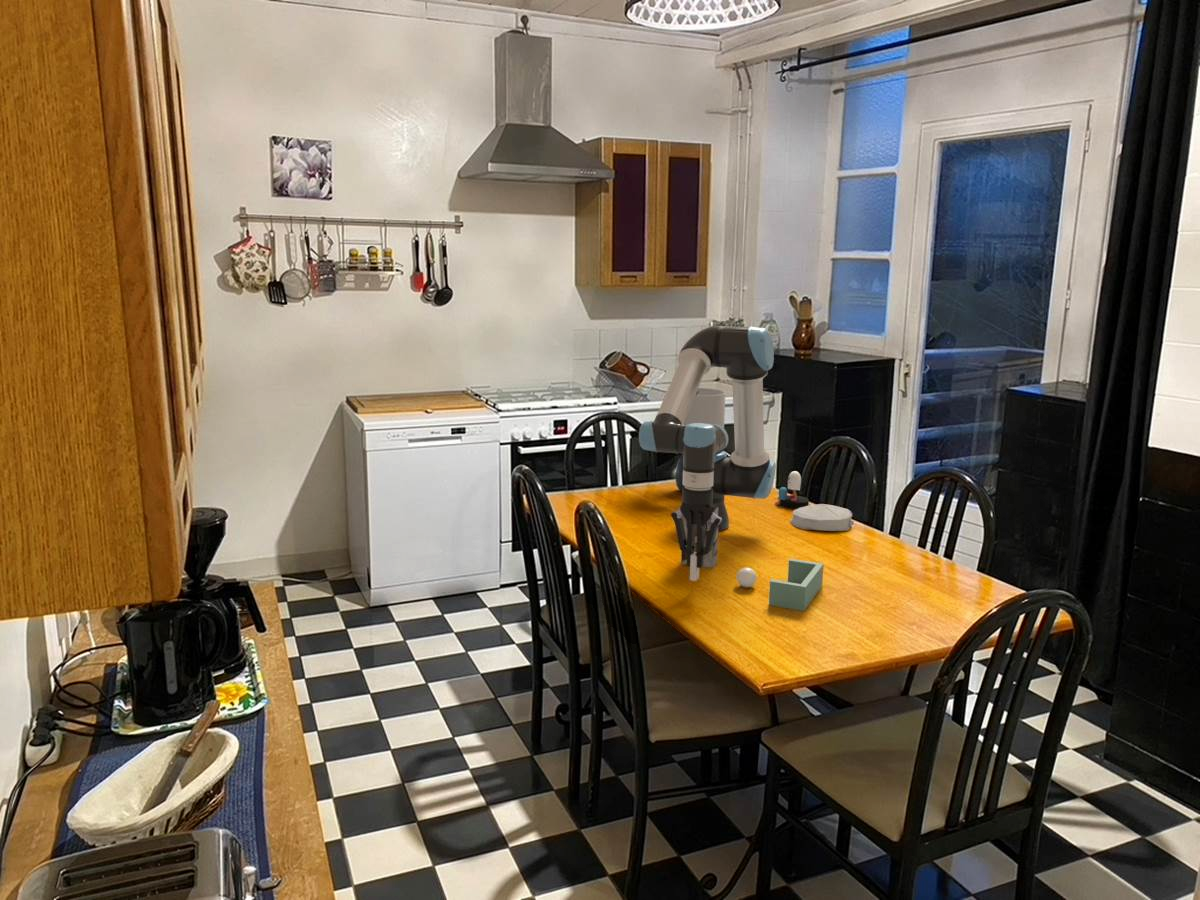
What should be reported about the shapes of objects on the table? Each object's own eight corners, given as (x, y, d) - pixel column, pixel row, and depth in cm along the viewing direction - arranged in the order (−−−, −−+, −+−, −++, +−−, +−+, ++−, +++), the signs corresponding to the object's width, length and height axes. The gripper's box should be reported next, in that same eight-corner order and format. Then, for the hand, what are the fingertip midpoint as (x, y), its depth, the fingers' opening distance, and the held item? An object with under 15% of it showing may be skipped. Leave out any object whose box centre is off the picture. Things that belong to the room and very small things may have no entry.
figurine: (774, 501, 311) (776, 467, 309) (807, 502, 310) (809, 468, 307) (775, 508, 302) (777, 473, 300) (809, 509, 301) (811, 475, 298)
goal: (768, 605, 216) (770, 581, 215) (789, 580, 232) (790, 558, 231) (804, 611, 212) (805, 587, 211) (822, 586, 229) (823, 563, 228)
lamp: (661, 497, 314) (664, 392, 307) (667, 483, 334) (669, 385, 326) (720, 500, 311) (724, 394, 303) (722, 486, 331) (726, 387, 323)
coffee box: (718, 561, 247) (720, 504, 244) (713, 568, 241) (715, 510, 238) (685, 557, 250) (687, 501, 247) (680, 564, 244) (681, 507, 241)
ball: (733, 588, 227) (734, 569, 226) (739, 582, 231) (740, 563, 230) (753, 591, 225) (753, 572, 224) (758, 585, 229) (759, 566, 228)
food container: (843, 538, 272) (845, 516, 270) (780, 526, 282) (782, 505, 280) (862, 523, 288) (864, 502, 287) (802, 512, 299) (804, 493, 297)
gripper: (667, 487, 220) (664, 579, 224) (718, 493, 214) (714, 587, 219) (678, 481, 226) (675, 570, 231) (728, 487, 221) (724, 578, 225)
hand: (694, 579), depth 225 cm, fingers closed
